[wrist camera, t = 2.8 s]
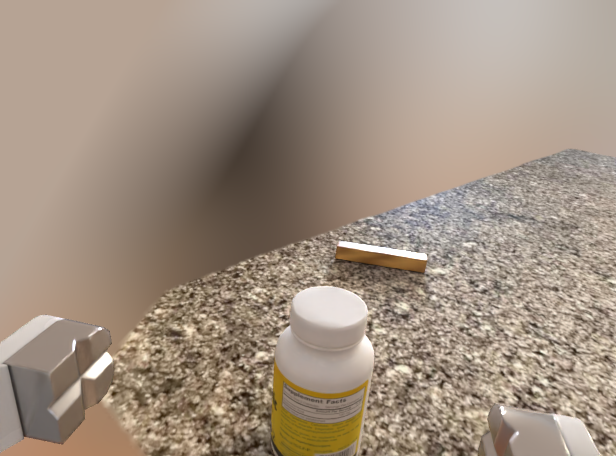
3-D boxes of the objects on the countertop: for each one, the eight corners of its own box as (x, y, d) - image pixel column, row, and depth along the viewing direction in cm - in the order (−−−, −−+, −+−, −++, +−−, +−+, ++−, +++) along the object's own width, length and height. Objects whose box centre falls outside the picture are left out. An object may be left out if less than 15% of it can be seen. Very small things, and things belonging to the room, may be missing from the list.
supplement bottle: (293, 397, 30) (306, 269, 26) (370, 429, 28) (395, 296, 24) (251, 458, 25) (258, 314, 21) (339, 502, 23) (365, 352, 19)
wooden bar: (335, 258, 50) (336, 245, 49) (337, 252, 51) (338, 240, 50) (424, 273, 48) (427, 260, 48) (423, 266, 50) (426, 254, 49)
